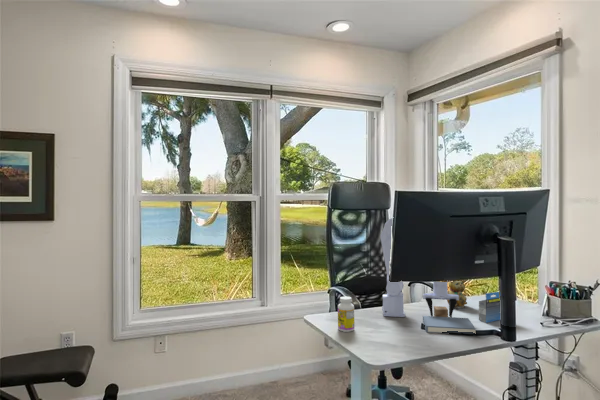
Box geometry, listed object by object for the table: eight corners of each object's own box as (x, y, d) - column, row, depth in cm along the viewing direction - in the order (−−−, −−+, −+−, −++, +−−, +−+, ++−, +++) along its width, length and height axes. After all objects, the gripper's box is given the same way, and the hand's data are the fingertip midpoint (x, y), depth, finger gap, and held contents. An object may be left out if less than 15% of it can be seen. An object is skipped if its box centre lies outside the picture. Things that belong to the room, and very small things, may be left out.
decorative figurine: (456, 310, 173) (455, 278, 173) (442, 305, 180) (441, 275, 180) (469, 306, 177) (469, 275, 178) (455, 303, 185) (454, 273, 185)
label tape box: (493, 317, 161) (492, 289, 161) (501, 320, 157) (500, 291, 157) (478, 320, 157) (477, 291, 157) (486, 323, 153) (486, 293, 153)
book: (426, 332, 144) (426, 325, 144) (422, 322, 157) (422, 315, 157) (475, 335, 140) (475, 328, 140) (468, 324, 153) (468, 318, 153)
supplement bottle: (335, 328, 150) (334, 296, 151) (349, 326, 153) (349, 295, 153) (342, 333, 144) (342, 300, 144) (357, 331, 146) (357, 298, 147)
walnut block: (435, 321, 157) (435, 309, 158) (434, 317, 162) (433, 306, 162) (448, 321, 156) (447, 309, 156) (446, 318, 161) (445, 306, 161)
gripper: (423, 286, 157) (424, 317, 157) (460, 287, 154) (460, 319, 154) (422, 282, 164) (422, 313, 164) (456, 283, 161) (457, 314, 161)
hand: (441, 316), depth 159 cm, fingers open, 7 cm apart
